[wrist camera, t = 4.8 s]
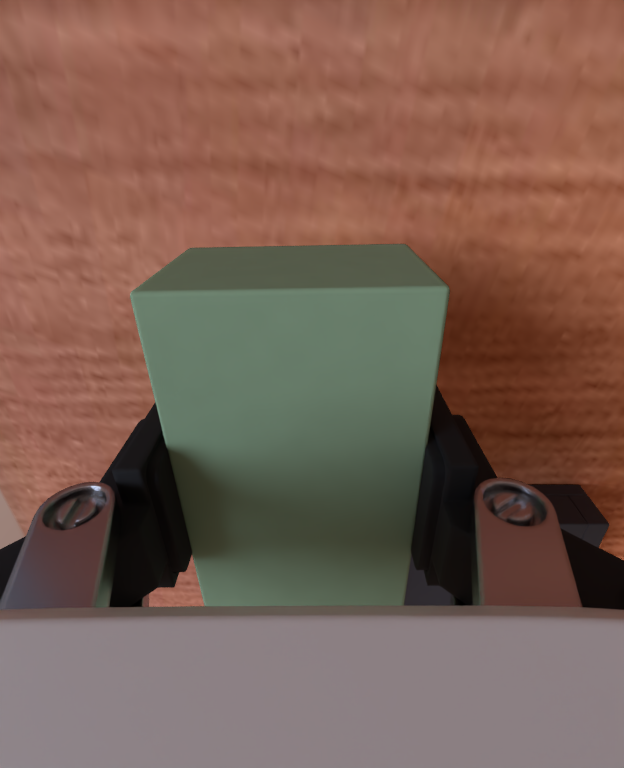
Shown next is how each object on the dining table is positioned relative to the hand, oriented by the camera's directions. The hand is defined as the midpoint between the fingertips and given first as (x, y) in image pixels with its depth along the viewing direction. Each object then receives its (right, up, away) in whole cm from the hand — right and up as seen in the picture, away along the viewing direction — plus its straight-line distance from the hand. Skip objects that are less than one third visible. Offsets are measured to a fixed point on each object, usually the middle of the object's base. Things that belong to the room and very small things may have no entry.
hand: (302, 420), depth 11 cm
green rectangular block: (0, 0, 0) cm, 0 cm away
